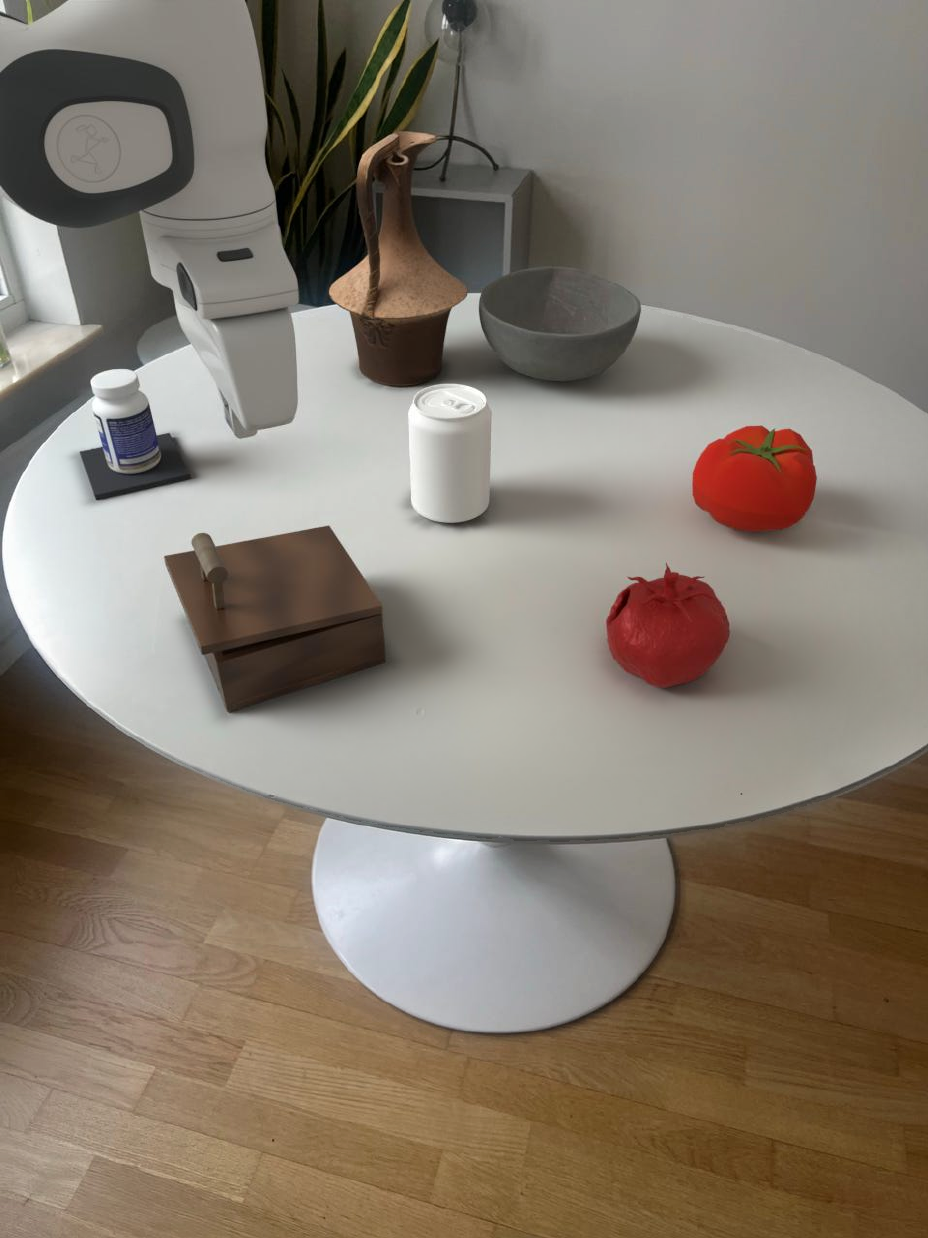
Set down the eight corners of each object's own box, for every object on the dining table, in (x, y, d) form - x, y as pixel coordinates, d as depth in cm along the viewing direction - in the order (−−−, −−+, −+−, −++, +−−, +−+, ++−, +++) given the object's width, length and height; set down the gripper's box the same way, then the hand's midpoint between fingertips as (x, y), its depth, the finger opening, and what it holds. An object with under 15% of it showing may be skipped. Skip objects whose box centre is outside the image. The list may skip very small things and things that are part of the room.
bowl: (452, 389, 117) (452, 311, 111) (509, 329, 132) (512, 257, 125) (607, 419, 111) (616, 339, 105) (649, 353, 126) (659, 279, 119)
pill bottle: (172, 454, 104) (153, 370, 97) (143, 479, 99) (121, 394, 93) (127, 445, 105) (106, 362, 99) (97, 470, 101) (72, 385, 94)
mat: (95, 500, 97) (94, 495, 97) (80, 456, 104) (79, 451, 104) (191, 478, 101) (190, 473, 100) (170, 437, 108) (169, 432, 107)
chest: (227, 712, 74) (216, 663, 71) (189, 620, 83) (178, 573, 79) (386, 662, 79) (382, 614, 75) (334, 580, 87) (329, 533, 84)
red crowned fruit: (745, 670, 78) (769, 583, 72) (655, 717, 74) (673, 628, 68) (664, 607, 84) (681, 522, 78) (577, 646, 80) (588, 559, 74)
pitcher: (433, 410, 113) (429, 161, 95) (310, 386, 118) (283, 144, 100) (485, 353, 126) (490, 123, 107) (371, 333, 130) (358, 109, 112)
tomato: (737, 564, 90) (756, 488, 84) (663, 499, 98) (676, 427, 93) (839, 532, 94) (863, 458, 88) (759, 473, 102) (777, 402, 97)
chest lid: (202, 655, 70) (195, 602, 66) (164, 564, 78) (157, 513, 75) (382, 613, 75) (384, 563, 72) (329, 533, 84) (328, 485, 81)
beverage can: (442, 477, 101) (441, 374, 94) (504, 501, 98) (508, 395, 90) (395, 510, 96) (390, 404, 89) (458, 536, 93) (459, 428, 85)
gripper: (136, 207, 69) (170, 381, 78) (204, 303, 55) (236, 502, 64) (220, 198, 71) (244, 368, 80) (306, 288, 57) (324, 482, 66)
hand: (241, 429), depth 72 cm, fingers closed
